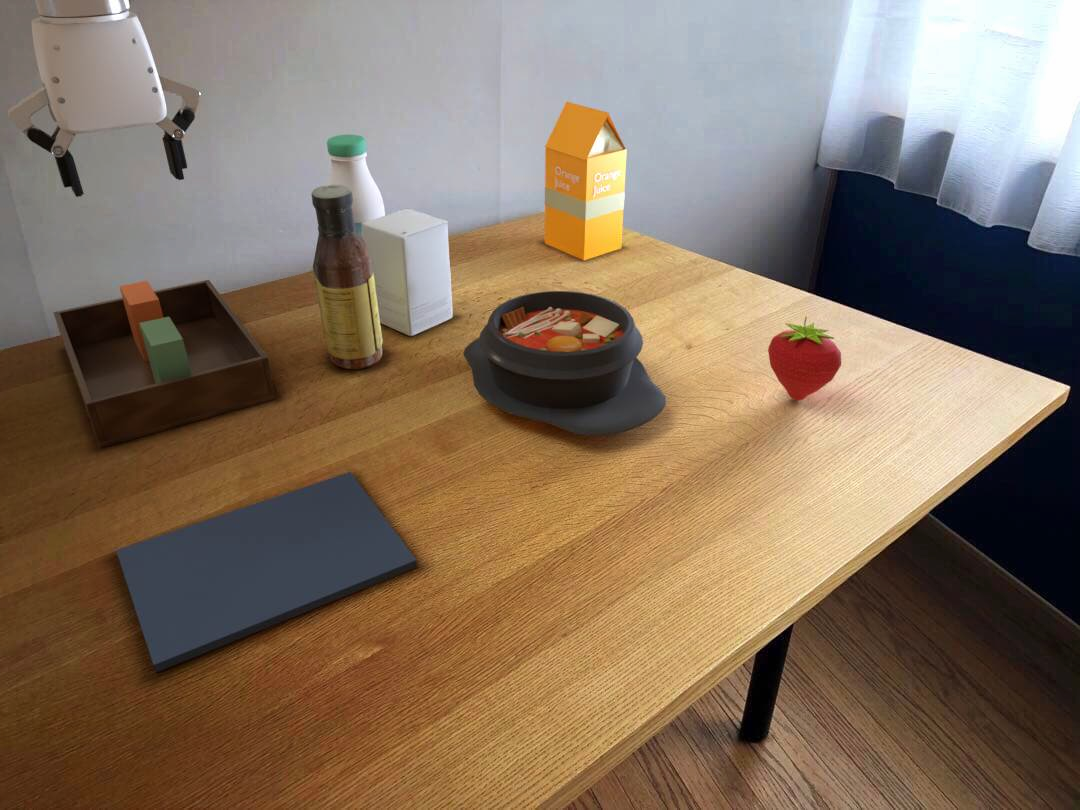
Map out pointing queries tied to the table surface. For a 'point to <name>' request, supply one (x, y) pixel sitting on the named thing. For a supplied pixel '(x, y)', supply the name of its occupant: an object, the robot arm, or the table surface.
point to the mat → (258, 567)
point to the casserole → (565, 363)
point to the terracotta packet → (140, 310)
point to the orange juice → (584, 183)
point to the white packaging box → (410, 270)
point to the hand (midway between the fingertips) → (129, 184)
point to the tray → (127, 380)
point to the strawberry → (803, 359)
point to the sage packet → (165, 349)
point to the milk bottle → (355, 177)
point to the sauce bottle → (345, 282)
